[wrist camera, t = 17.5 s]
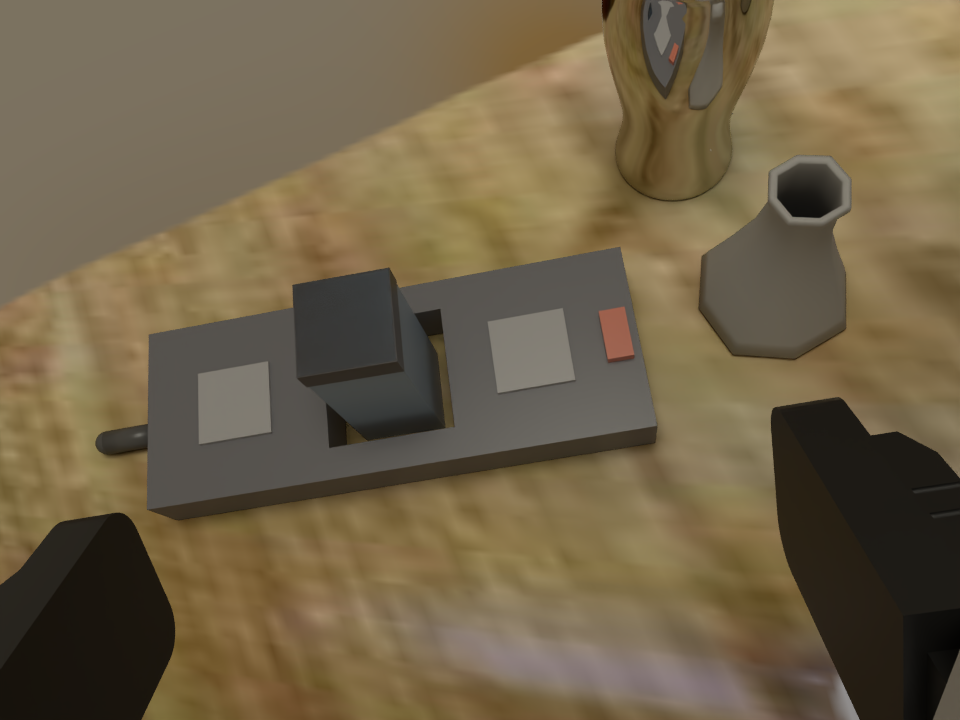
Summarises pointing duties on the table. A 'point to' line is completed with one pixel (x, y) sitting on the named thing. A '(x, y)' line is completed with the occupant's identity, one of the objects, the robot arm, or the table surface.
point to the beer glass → (680, 86)
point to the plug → (367, 354)
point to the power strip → (422, 456)
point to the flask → (782, 266)
